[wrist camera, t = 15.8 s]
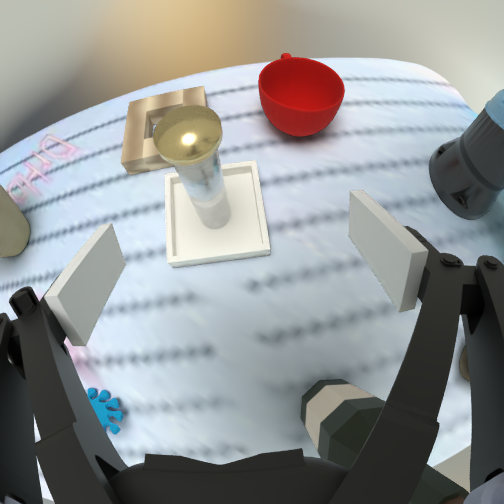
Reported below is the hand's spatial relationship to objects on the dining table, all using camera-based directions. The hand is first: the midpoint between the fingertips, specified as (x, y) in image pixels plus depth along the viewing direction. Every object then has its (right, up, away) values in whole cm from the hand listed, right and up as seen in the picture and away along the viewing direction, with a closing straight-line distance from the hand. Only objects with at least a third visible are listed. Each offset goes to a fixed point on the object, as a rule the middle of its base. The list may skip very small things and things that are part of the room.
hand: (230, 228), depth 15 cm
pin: (-4, +4, +26) cm, 27 cm away
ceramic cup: (+8, +23, +33) cm, 41 cm away
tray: (-4, +4, +27) cm, 28 cm away
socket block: (-13, +19, +32) cm, 39 cm away
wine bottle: (+12, -22, +20) cm, 32 cm away
